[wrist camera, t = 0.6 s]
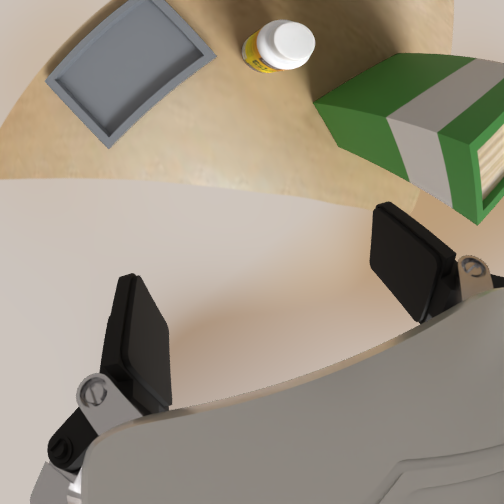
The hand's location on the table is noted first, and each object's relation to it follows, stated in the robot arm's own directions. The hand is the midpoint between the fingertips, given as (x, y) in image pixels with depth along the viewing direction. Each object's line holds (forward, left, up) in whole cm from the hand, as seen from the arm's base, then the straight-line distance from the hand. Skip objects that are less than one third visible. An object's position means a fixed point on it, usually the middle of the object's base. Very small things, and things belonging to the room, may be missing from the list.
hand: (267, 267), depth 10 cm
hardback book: (-17, +17, -27) cm, 36 cm away
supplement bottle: (-13, +1, -26) cm, 30 cm away
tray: (-5, -13, -26) cm, 30 cm away
